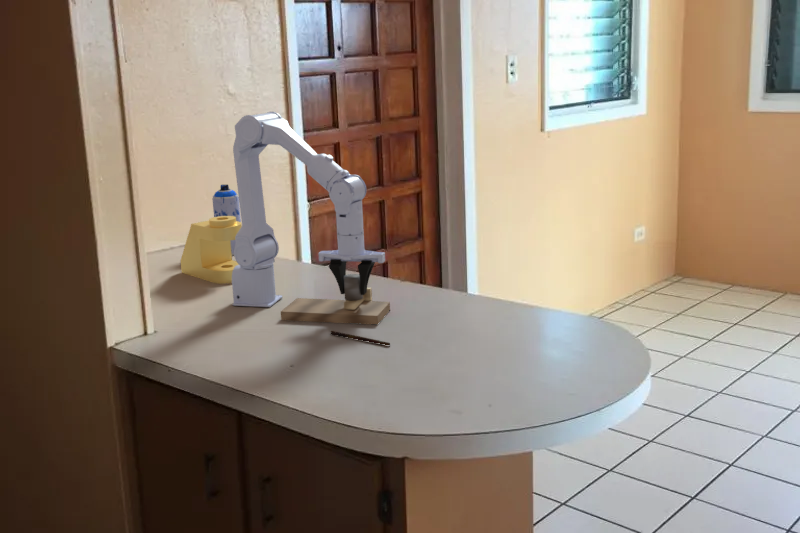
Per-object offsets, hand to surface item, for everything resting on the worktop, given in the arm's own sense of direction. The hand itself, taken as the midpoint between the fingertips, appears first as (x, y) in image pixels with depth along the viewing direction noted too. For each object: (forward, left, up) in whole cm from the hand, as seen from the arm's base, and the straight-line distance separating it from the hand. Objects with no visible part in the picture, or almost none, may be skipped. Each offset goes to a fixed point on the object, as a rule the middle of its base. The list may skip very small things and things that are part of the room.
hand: (353, 293), depth 187 cm
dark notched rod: (+6, -16, -5) cm, 18 cm away
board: (-4, -1, -5) cm, 6 cm away
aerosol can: (-54, +51, -5) cm, 74 cm away
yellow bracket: (-47, +27, -5) cm, 54 cm away
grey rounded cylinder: (0, +1, -4) cm, 4 cm away
